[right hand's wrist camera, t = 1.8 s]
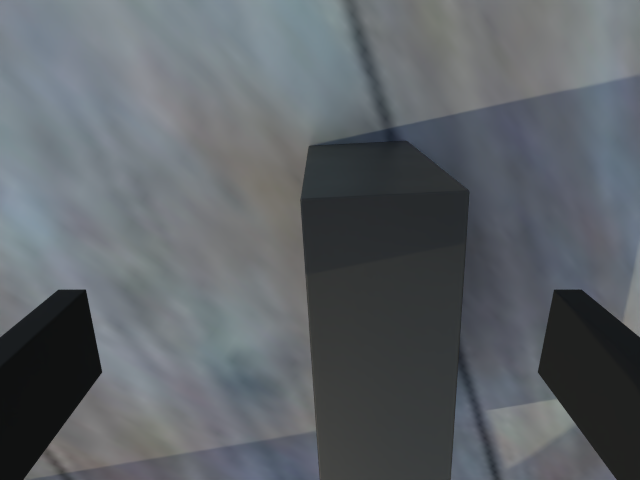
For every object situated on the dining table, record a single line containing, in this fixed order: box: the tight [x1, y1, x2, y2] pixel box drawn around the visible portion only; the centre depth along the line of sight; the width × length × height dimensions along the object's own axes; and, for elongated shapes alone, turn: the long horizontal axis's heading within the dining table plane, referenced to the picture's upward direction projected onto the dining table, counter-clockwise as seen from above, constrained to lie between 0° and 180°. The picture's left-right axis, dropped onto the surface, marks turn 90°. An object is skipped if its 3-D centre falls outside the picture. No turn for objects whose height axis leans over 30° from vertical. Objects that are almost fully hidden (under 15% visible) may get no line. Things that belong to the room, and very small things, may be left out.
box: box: [300, 141, 469, 480], centre depth 25 cm, size 21×6×12 cm, turn 3°
